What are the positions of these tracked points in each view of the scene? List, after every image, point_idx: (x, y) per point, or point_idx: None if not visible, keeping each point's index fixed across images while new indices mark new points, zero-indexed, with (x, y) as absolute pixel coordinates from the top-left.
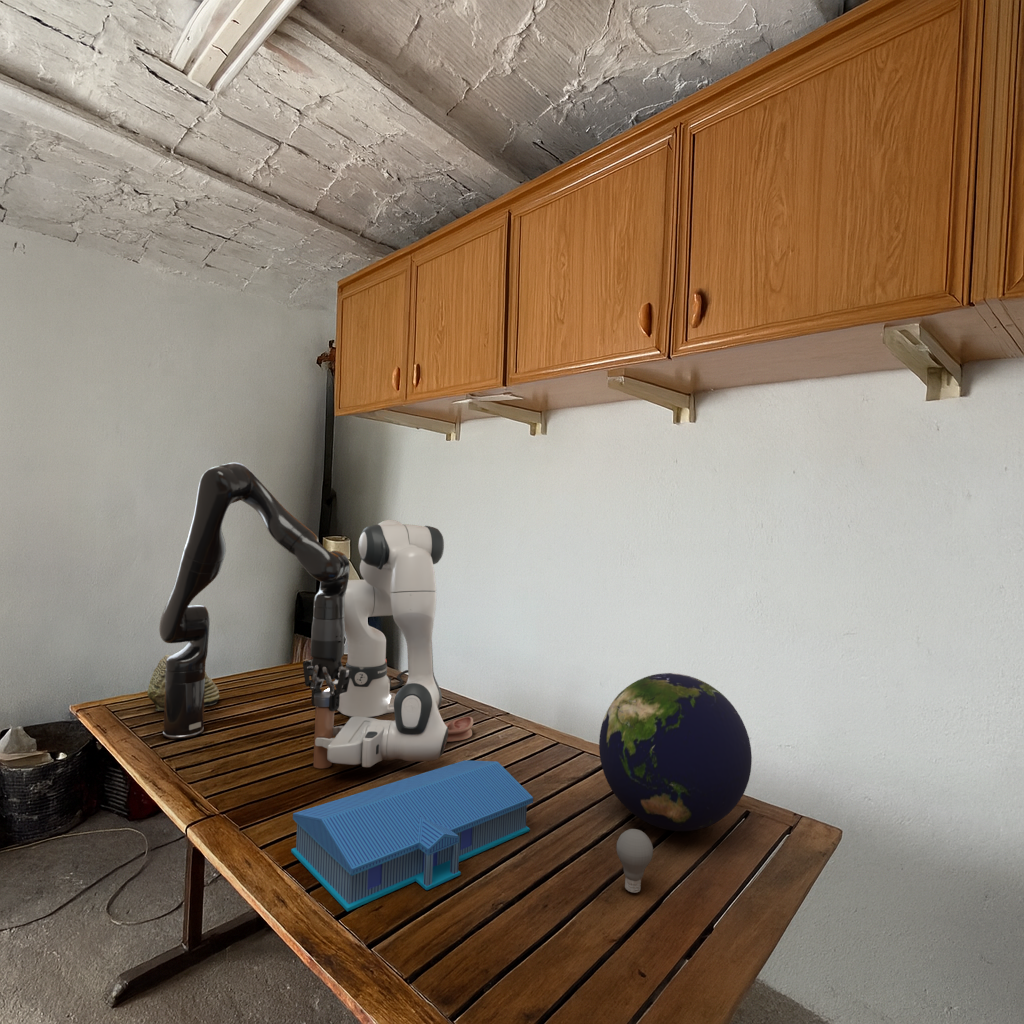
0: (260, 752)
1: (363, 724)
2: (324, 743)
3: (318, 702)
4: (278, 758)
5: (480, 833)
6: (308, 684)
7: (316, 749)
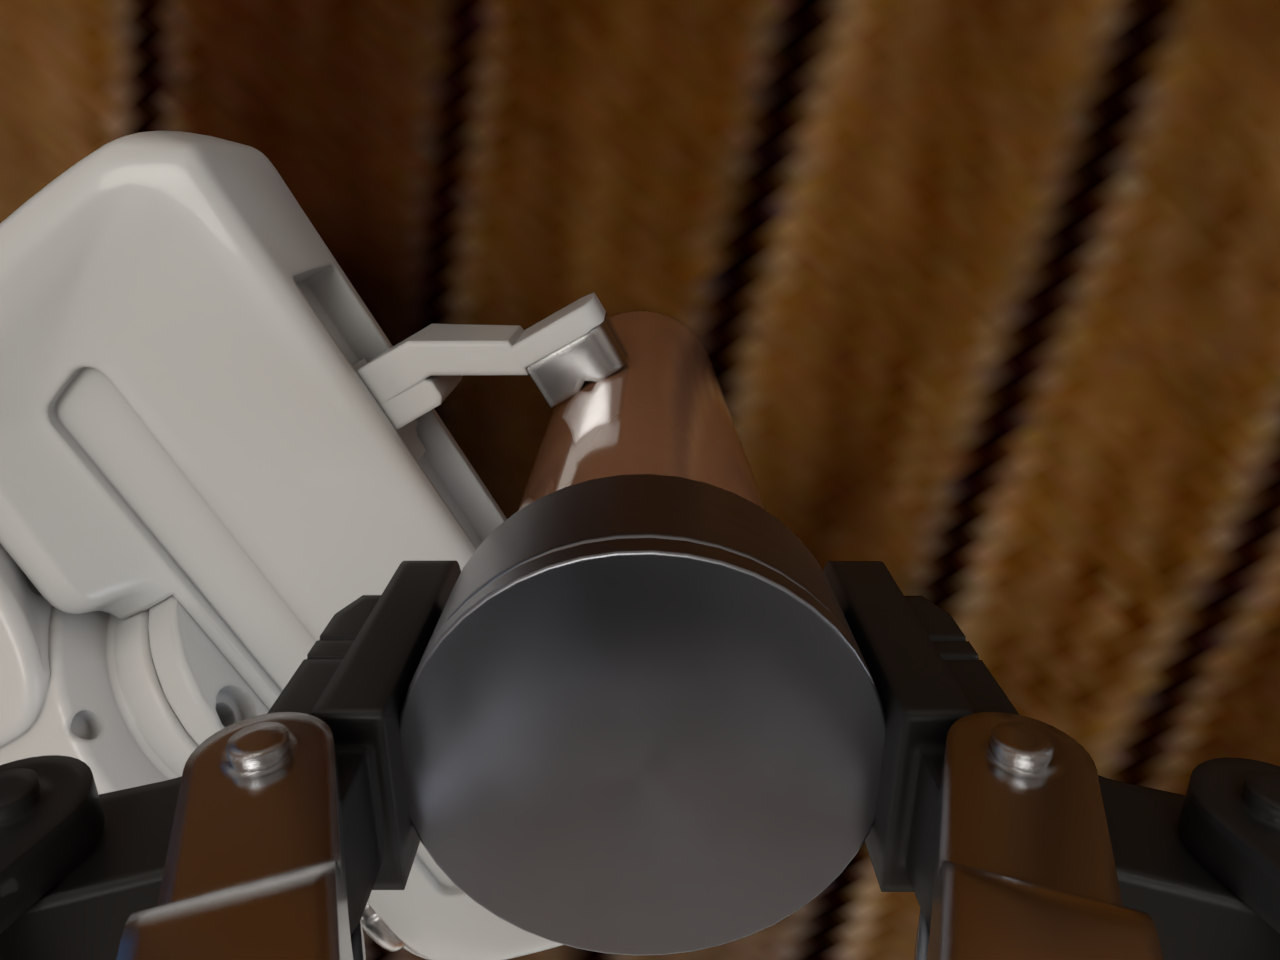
0: (1273, 255)
1: None
2: (488, 333)
3: (602, 508)
4: (1044, 262)
5: None
6: (1207, 802)
7: (639, 340)
